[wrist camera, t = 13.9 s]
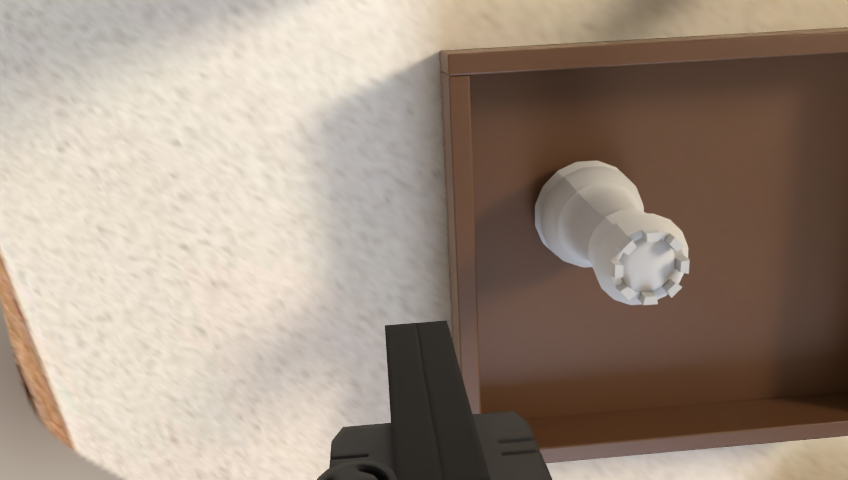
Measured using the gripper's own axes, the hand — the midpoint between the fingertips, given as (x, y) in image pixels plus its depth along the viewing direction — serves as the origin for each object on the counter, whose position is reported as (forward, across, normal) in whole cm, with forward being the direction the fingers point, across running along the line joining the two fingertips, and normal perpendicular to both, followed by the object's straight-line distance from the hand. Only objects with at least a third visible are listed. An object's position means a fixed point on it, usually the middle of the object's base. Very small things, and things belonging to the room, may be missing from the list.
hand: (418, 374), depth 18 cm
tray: (+14, +12, -2) cm, 19 cm away
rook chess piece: (+14, +8, 0) cm, 16 cm away
